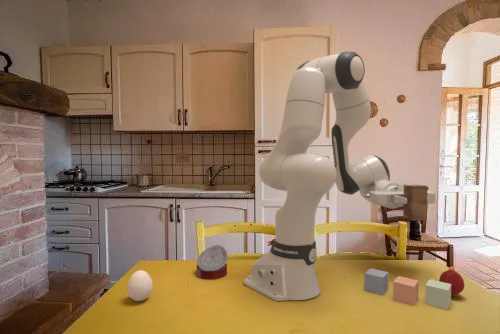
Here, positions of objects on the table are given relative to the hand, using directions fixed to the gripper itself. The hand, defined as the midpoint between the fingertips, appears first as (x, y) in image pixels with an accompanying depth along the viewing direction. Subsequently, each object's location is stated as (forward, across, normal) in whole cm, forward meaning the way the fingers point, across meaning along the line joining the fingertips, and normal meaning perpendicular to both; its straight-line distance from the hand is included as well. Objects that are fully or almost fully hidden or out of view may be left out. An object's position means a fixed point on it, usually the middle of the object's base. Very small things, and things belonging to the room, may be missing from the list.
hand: (417, 200), depth 92 cm
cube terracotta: (+9, -9, +25) cm, 28 cm away
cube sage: (+12, -2, +25) cm, 28 cm away
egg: (+1, -79, +25) cm, 83 cm away
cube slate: (+2, -14, +25) cm, 29 cm away
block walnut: (-1, 0, +6) cm, 6 cm away
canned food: (-16, -60, +25) cm, 67 cm away
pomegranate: (+8, +5, +25) cm, 27 cm away
